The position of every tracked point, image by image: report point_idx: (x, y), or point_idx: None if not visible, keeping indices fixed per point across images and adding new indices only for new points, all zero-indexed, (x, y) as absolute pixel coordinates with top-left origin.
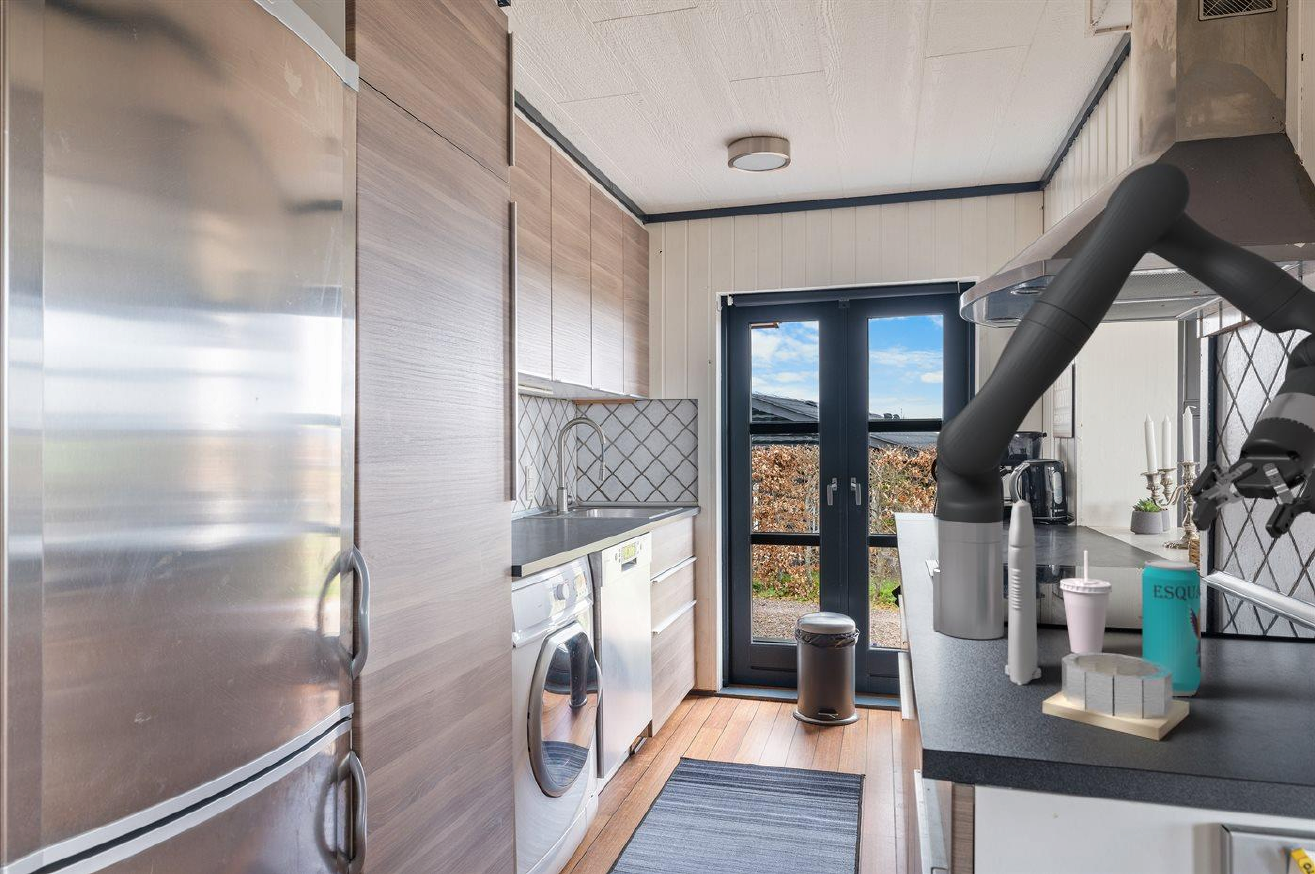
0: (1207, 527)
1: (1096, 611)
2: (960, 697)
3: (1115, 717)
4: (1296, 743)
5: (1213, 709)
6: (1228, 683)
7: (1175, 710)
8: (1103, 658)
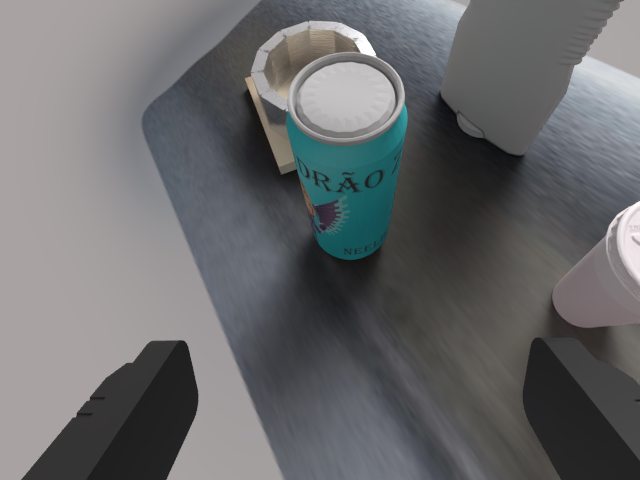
0: (535, 429)
1: (589, 259)
2: (423, 17)
3: None
4: (173, 191)
5: (277, 213)
6: (341, 348)
7: (268, 131)
8: None
